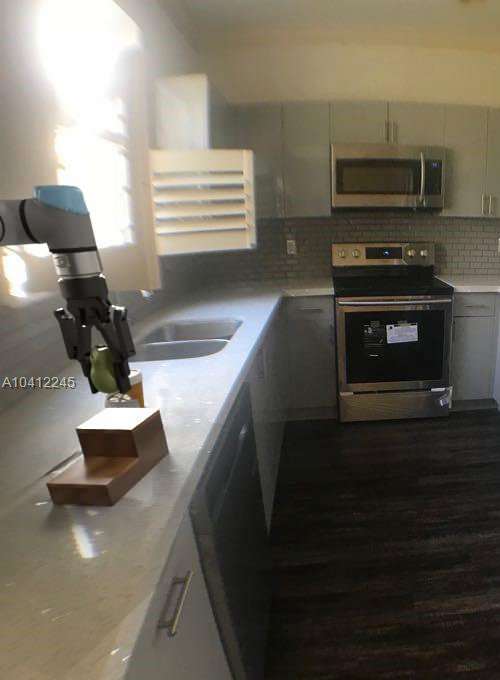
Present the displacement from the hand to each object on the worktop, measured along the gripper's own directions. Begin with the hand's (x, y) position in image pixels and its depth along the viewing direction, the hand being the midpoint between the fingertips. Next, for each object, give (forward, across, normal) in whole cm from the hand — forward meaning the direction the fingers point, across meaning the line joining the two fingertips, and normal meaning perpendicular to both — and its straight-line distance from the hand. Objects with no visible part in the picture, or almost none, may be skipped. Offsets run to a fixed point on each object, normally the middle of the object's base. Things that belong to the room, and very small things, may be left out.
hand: (111, 391), depth 93 cm
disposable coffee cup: (+17, -15, +24) cm, 33 cm away
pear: (0, 0, 0) cm, 0 cm away
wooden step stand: (+17, 0, -5) cm, 18 cm away
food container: (+17, -10, +14) cm, 25 cm away
